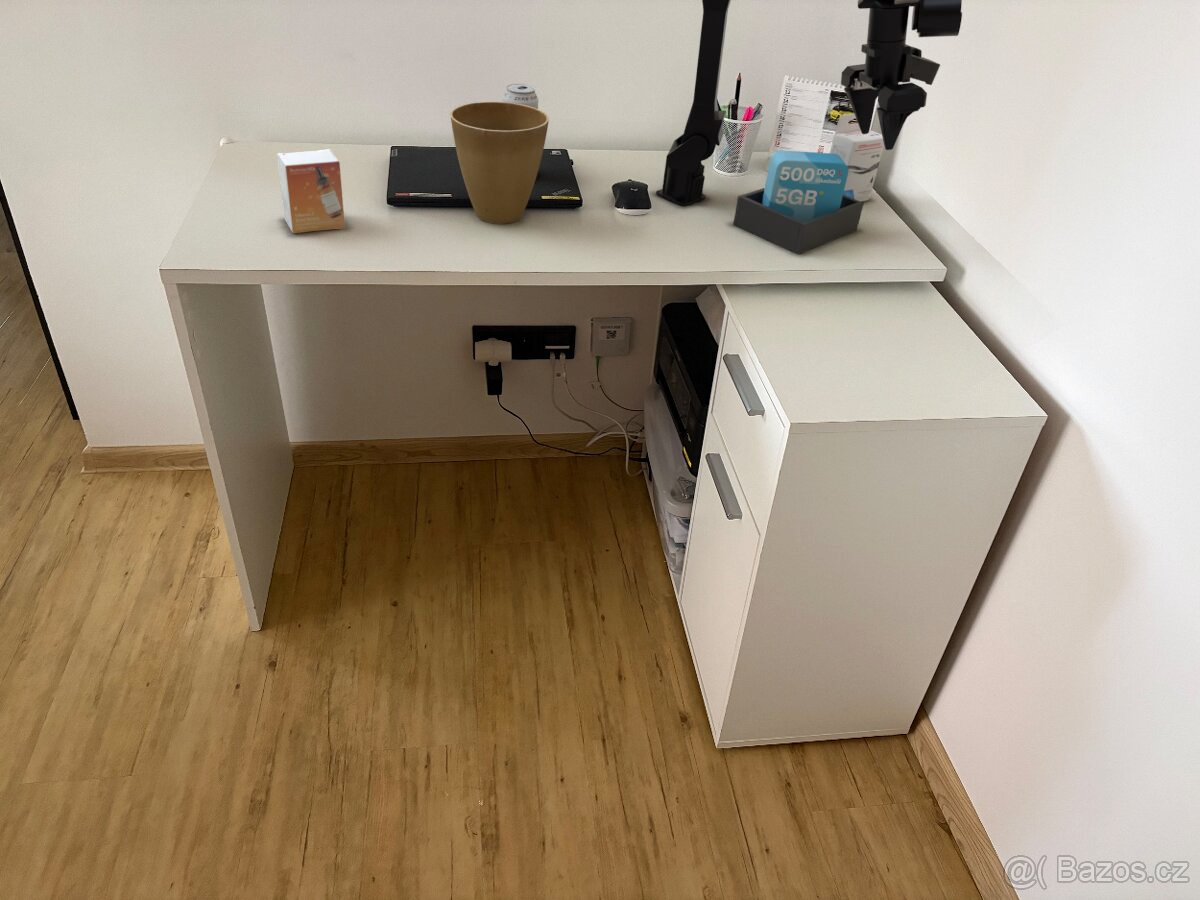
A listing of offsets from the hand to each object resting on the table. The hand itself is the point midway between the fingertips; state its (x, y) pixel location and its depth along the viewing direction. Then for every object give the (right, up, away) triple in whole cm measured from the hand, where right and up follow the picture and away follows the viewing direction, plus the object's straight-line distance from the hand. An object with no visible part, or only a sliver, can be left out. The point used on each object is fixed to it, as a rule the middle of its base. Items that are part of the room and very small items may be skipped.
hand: (876, 141), depth 149 cm
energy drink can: (-60, -1, +15) cm, 61 cm away
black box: (-12, -13, +6) cm, 18 cm away
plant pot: (-62, -12, 0) cm, 63 cm away
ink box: (0, -4, +18) cm, 19 cm away
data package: (-12, -13, +6) cm, 18 cm away
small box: (-89, -16, -9) cm, 90 cm away
